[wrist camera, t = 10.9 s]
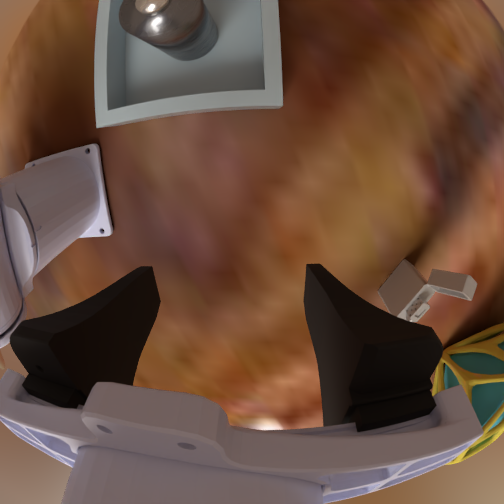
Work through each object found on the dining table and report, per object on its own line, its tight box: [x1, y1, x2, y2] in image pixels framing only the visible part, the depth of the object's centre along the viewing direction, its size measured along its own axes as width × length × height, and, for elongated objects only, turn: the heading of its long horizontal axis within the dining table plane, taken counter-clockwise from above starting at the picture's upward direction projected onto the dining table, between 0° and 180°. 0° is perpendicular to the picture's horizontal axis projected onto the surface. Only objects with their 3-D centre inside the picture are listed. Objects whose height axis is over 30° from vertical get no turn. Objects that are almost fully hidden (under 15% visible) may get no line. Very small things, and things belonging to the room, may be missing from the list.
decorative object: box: [432, 323, 504, 464], centre depth 23 cm, size 23×23×15 cm
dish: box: [94, 0, 283, 128], centre depth 13 cm, size 12×12×4 cm
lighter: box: [378, 259, 477, 322], centre depth 19 cm, size 7×2×8 cm, turn 150°
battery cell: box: [119, 0, 218, 61], centre depth 11 cm, size 4×4×8 cm
